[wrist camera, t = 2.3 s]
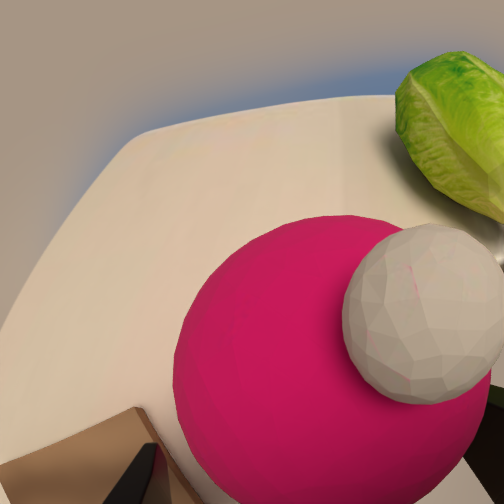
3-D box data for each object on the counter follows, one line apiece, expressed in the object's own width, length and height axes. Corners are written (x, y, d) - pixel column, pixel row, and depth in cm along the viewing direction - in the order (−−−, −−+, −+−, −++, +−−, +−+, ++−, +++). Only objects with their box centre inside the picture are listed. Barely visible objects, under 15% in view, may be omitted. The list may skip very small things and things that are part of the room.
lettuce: (433, 275, 27) (526, 189, 14) (358, 124, 36) (384, 19, 22) (525, 240, 28) (599, 172, 14) (454, 118, 36) (491, 38, 22)
